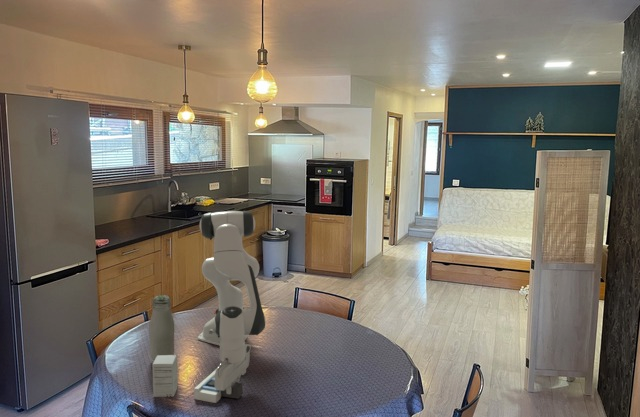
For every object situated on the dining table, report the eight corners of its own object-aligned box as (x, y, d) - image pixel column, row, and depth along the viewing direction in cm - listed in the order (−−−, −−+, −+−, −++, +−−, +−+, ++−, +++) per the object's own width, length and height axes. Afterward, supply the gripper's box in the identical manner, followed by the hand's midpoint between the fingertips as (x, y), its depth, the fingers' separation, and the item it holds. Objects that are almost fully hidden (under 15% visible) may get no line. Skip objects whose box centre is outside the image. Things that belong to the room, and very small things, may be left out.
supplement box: (157, 387, 178) (156, 354, 177) (178, 386, 179) (177, 354, 177) (152, 397, 171) (151, 364, 169) (174, 396, 172) (173, 363, 170)
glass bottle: (152, 368, 193) (150, 301, 189) (148, 358, 202) (146, 293, 198) (177, 363, 197) (175, 297, 193) (172, 353, 206) (171, 290, 202)
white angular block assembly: (194, 399, 170) (194, 386, 170) (226, 369, 193) (226, 358, 192) (215, 403, 168) (215, 390, 167) (246, 372, 191) (245, 361, 190)
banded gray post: (208, 394, 173) (207, 384, 173) (213, 389, 177) (212, 379, 176) (238, 398, 170) (237, 387, 169) (243, 393, 173) (242, 382, 173)
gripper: (226, 367, 160) (226, 406, 161) (252, 343, 179) (252, 378, 181) (209, 364, 161) (210, 403, 163) (237, 341, 181) (237, 375, 183)
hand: (232, 389), depth 172 cm, fingers closed on banded gray post, 3 cm apart
